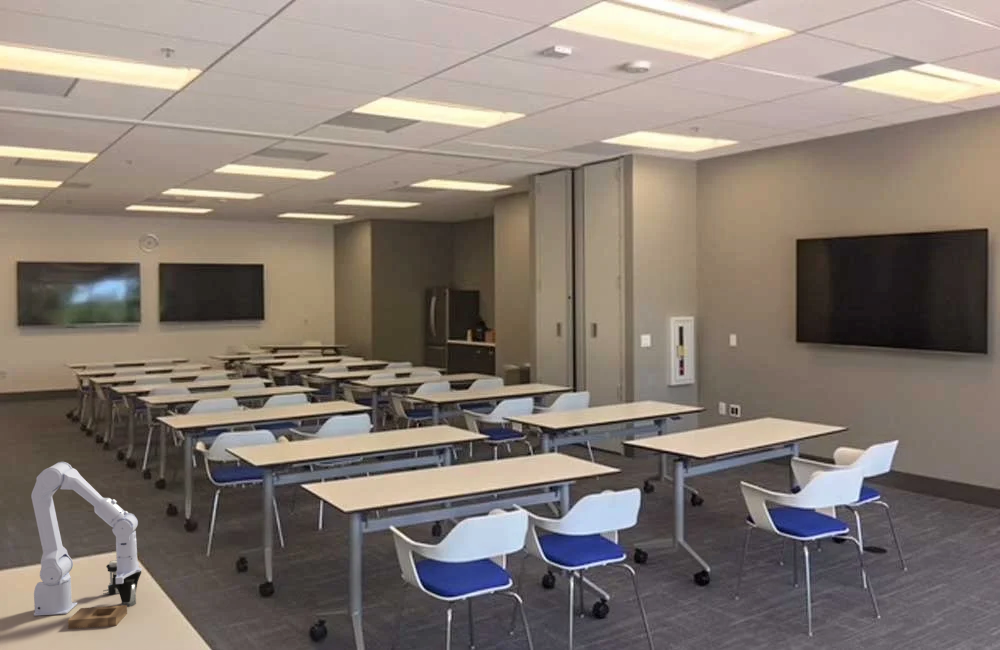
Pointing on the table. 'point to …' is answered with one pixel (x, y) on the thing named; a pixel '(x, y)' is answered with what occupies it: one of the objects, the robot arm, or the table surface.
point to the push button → (112, 569)
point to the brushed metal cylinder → (133, 597)
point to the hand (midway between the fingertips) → (128, 599)
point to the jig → (97, 617)
